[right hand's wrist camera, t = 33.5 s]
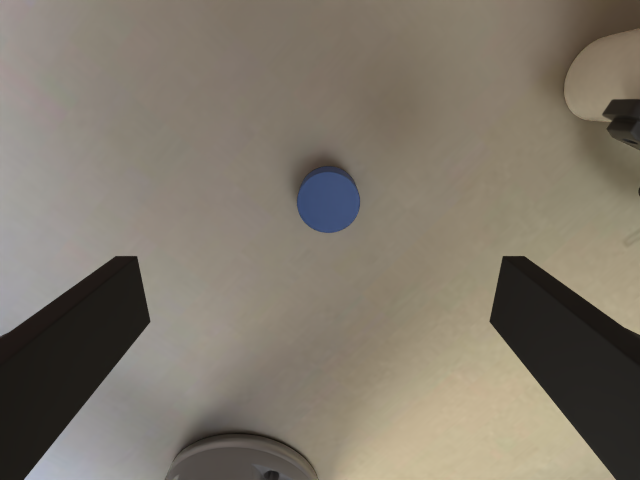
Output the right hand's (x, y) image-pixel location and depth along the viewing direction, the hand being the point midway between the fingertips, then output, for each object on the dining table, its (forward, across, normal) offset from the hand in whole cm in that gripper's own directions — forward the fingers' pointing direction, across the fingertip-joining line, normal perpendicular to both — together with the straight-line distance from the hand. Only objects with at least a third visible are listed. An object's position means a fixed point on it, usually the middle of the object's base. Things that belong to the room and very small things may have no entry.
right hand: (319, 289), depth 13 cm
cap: (+10, 0, +1) cm, 10 cm away
